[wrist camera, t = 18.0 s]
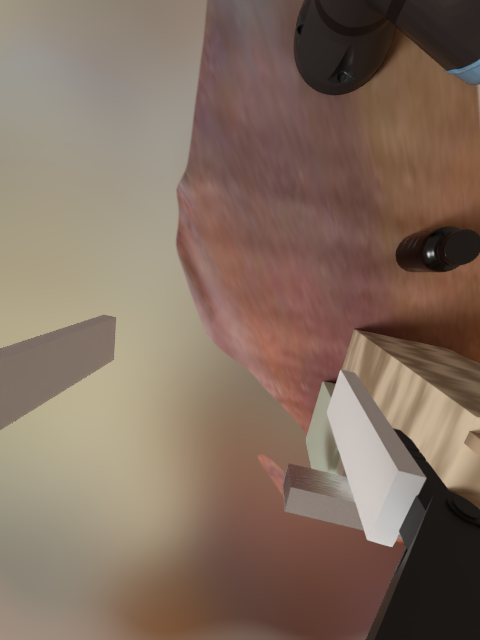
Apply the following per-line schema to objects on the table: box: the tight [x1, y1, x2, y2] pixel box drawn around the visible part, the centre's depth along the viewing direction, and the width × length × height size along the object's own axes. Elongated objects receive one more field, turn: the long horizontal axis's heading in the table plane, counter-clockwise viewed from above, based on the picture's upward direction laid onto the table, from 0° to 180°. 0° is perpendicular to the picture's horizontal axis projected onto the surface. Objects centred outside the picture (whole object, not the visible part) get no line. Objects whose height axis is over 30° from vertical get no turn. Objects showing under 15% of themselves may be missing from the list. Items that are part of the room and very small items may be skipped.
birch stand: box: [342, 329, 480, 509], centre depth 35 cm, size 18×10×32 cm, turn 79°
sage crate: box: [306, 381, 340, 474], centre depth 47 cm, size 15×15×15 cm
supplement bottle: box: [396, 226, 480, 272], centre depth 40 cm, size 7×7×12 cm
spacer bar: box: [283, 464, 403, 540], centre depth 34 cm, size 30×4×4 cm, turn 80°
